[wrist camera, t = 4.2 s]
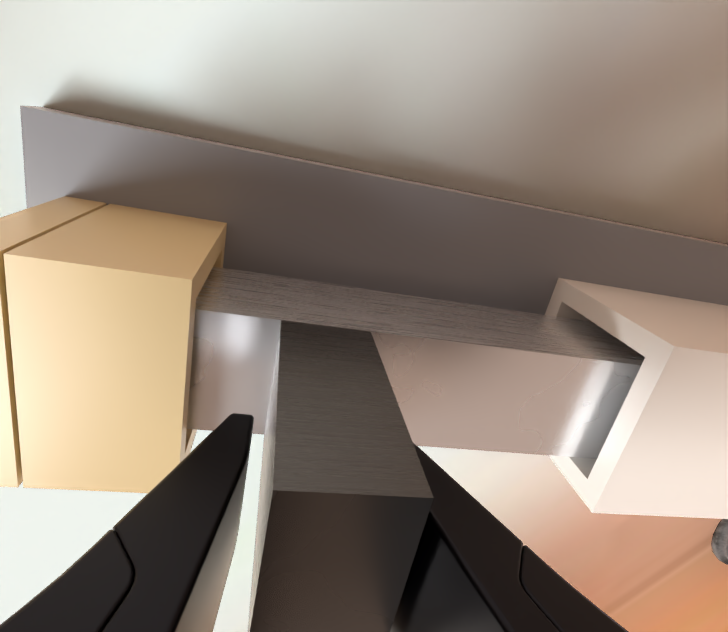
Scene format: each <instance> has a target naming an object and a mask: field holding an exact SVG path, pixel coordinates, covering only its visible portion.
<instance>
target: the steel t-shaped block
mask: <svg viewBox="0 0 728 632" xmlns="http://www.w3.org/2000/svg"><path fill="white" fill-rule="evenodd" d="M644 359H645V357H644V356H643V355H641V354H640V353H638V352H637V351H635V350H634V349H632V348H631V347H629V346H628V345H626V344H625V343H623V342H622V341H620V340H619V339H617V338H616V337H614V336H613V335H611V334H610V333H608V332H607V331H605V330H604V329H602V328H601V327H599V326H598V325H596V324H595V323H593V322H591V321H584V320H577V319H570V318H563V317H556V316H549V315H542V314H536V313H529V312H522V311H515V310H508V309H501V308H494V307H487V306H480V305H474V304H467V303H460V302H453V301H446V300H439V299H432V298H425V297H418V296H412V295H405V294H398V293H391V292H384V291H377V290H370V289H363V288H357V287H350V286H343V285H336V284H329V283H322V282H315V281H308V280H301V279H295V278H288V277H281V276H274V275H267V274H260V273H253V272H246V271H239V270H233V269H226V268H219V267H213V268H212V270H211V271H210V273H209V275H208V277H207V279H206V281H205V283H204V285H203V287H202V289H201V290H200V292H199V294H198V296H197V298H196V307H195V321H194V335H193V348H192V362H191V376H190V389H189V403H188V417H187V429H198V430H212V431H214V430H215V429H216V428H217V427H218V426H219V425H220V424H221V423H222V422H223V421H224V420H225V419H226V418H227V417H228V416H229V415H230V414H232V413H238V414H249V415H252V416H253V417H254V422H253V430H252V433H253V434H264V443H263V455H262V467H261V479H260V491H259V503H258V515H257V527H256V539H255V551H254V563H253V575H252V587H251V599H250V611H249V623H248V632H390V630H391V627H392V624H393V621H394V618H395V615H396V612H397V609H398V606H399V603H400V599H401V596H402V593H403V590H404V587H405V584H406V581H407V578H408V575H409V572H410V569H411V566H412V563H413V560H414V557H415V554H416V551H417V548H418V544H419V541H420V538H421V535H422V532H423V529H424V526H425V523H426V520H427V517H428V514H429V511H430V508H431V505H432V502H433V499H434V497H433V495H432V492H431V490H430V487H429V484H428V482H427V479H426V476H425V474H424V471H423V468H422V466H421V463H420V460H419V458H418V455H417V452H416V450H415V447H414V445H413V443H414V444H415V445H416V446H430V447H444V448H457V449H471V450H484V451H498V452H512V453H525V454H539V455H553V456H566V457H580V458H594V459H597V458H598V456H599V454H600V452H601V449H602V447H603V445H604V443H605V441H606V439H607V437H608V435H609V433H610V430H611V428H612V426H613V424H614V422H615V420H616V418H617V416H618V414H619V411H620V409H621V407H622V405H623V403H624V401H625V399H626V397H627V395H628V392H629V390H630V388H631V386H632V384H633V382H634V380H635V378H636V376H637V373H638V371H639V369H640V367H641V365H642V363H643V361H644Z"/></svg>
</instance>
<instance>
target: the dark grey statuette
mask: <svg viewBox="0 0 728 632" xmlns="http://www.w3.org/2000/svg"><path fill="white" fill-rule="evenodd" d="M711 545H712V550H713V553H714V554H715V556H716V557H717V558H718V559H719V560H720V561H722V562H723V563H725V564H728V519H722V520H721V522H720V523H719V524H718V526H717V528H716V530H715V532H714V534H713V538H712V543H711Z"/></svg>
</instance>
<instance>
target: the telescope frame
mask: <svg viewBox="0 0 728 632" xmlns="http://www.w3.org/2000/svg"><path fill="white" fill-rule="evenodd" d="M20 108H21V124H22V139H23V155H24V170H25V186H26V202H27V209H25V210H22V211H19V212H16V213H13V214H10V215H7V216H4V217H1V218H0V487H19V485H20V484H21V483H22V481H23V488H45V489H67V490H90V491H112V492H135V493H149V492H150V491H151V490H152V489H153V488H154V487H155V486H156V485H157V484H158V483H159V482H161V481H162V480H163V479H164V478H165V477H166V476H167V475H168V474H169V473H170V472H171V471H172V470H173V469H174V468H175V467H176V466H177V465H178V464H179V463H180V462H181V461H182V460H183V459H184V458H186V457H187V456H188V455H189V454H190V451H191V448H192V444H193V441H194V438H195V435H196V431H197V429H187V417H188V403H189V389H190V376H191V362H192V348H193V335H194V321H195V307H196V298H197V296H198V294H199V292H200V290H201V289H202V287H203V285H204V283H205V281H206V279H207V277H208V275H209V273H210V271H211V270H212V268H213V267H219V268H226V269H233V270H239V271H246V272H253V273H260V274H267V275H274V276H281V277H288V278H295V279H301V280H308V281H315V282H322V283H329V284H336V285H343V286H350V287H357V288H363V289H370V290H377V291H384V292H391V293H398V294H405V295H412V296H418V297H425V298H432V299H439V300H446V301H453V302H460V303H467V304H474V305H480V306H487V307H494V308H501V309H508V310H515V311H522V312H529V313H536V314H542V315H549V316H556V317H563V318H570V319H577V320H584V321H591V322H593V323H595V324H596V325H598V326H599V327H601V328H602V329H604V330H605V331H607V332H608V333H610V334H611V335H613V336H614V337H616V338H617V339H619V340H620V341H622V342H623V343H625V344H626V345H628V346H629V347H631V348H632V349H634V350H635V351H637V352H638V353H640V354H641V355H643V356H644V357H645V359H644V361H643V363H642V365H641V367H640V369H639V371H638V373H637V376H636V378H635V380H634V382H633V384H632V386H631V388H630V390H629V392H628V395H627V397H626V399H625V401H624V403H623V405H622V407H621V409H620V411H619V414H618V416H617V418H616V420H615V422H614V424H613V426H612V428H611V430H610V433H609V435H608V437H607V439H606V441H605V443H604V445H603V447H602V449H601V452H600V454H599V456H598V458H597V459H594V458H580V457H566V456H553V455H548V456H549V457H550V459H551V460H552V461H553V462H554V464H555V465H556V466H557V468H558V469H559V470H560V472H561V473H562V474H563V475H564V477H565V478H566V479H567V481H568V482H569V483H570V485H571V486H572V487H573V489H574V490H575V491H576V492H577V494H578V495H579V496H580V498H581V499H582V500H583V502H584V503H585V504H586V505H587V507H588V508H589V509H590V511H591V512H592V513H605V514H627V515H650V516H672V517H694V518H717V519H728V244H724V243H719V242H714V241H709V240H704V239H699V238H694V237H689V236H684V235H679V234H674V233H669V232H664V231H659V230H654V229H649V228H644V227H639V226H634V225H629V224H624V223H619V222H614V221H609V220H604V219H599V218H594V217H589V216H584V215H579V214H574V213H569V212H564V211H559V210H554V209H549V208H544V207H539V206H534V205H529V204H524V203H519V202H514V201H509V200H504V199H499V198H494V197H489V196H484V195H479V194H474V193H469V192H464V191H459V190H454V189H449V188H444V187H439V186H434V185H429V184H424V183H419V182H414V181H409V180H404V179H399V178H394V177H389V176H384V175H379V174H374V173H369V172H364V171H359V170H354V169H349V168H344V167H339V166H334V165H329V164H324V163H319V162H314V161H309V160H304V159H299V158H294V157H289V156H284V155H279V154H274V153H269V152H264V151H259V150H254V149H249V148H244V147H239V146H234V145H229V144H224V143H219V142H214V141H209V140H204V139H199V138H194V137H189V136H184V135H179V134H174V133H169V132H164V131H159V130H154V129H149V128H144V127H139V126H134V125H129V124H124V123H119V122H114V121H109V120H104V119H99V118H95V117H90V116H85V115H80V114H75V113H70V112H65V111H60V110H55V109H50V108H45V107H36V106H20Z"/></svg>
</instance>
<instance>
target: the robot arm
mask: <svg viewBox="0 0 728 632" xmlns="http://www.w3.org/2000/svg"><path fill="white" fill-rule="evenodd" d="M253 422H254V417H253V416H252V415H249V414H238V413H232V414H230V415H229V416H228V417H227V418H226V419H225V420H224V421H223V422H222V423H221V424H220V425H219V426H218V427H217V428H216V429H215V430H214V431H213V432H212V433H210V434H209V435H208V436H207V437H206V438H205V439H204V440H203V441H202V442H201V443H200V444H199V445H198V446H197V447H196V448H195V449H194V450H193V451H192V452H191V453H190V454H189V455H188V456H187V457H186V458H184V459H183V460H182V461H181V462H180V463H179V464H178V465H177V466H176V467H175V468H174V469H173V470H172V471H171V472H170V473H169V474H168V475H167V476H166V477H165V478H164V479H163V480H162V481H161V482H159V483H158V484H157V485H156V486H155V487H154V488H153V489H152V490H151V491H150V492H149V493H148V494H147V495H146V496H145V497H144V498H143V499H142V500H141V501H140V502H139V503H138V504H137V505H136V506H134V507H133V508H132V509H131V510H130V511H129V512H128V513H127V514H126V515H125V516H124V517H123V518H122V519H121V520H120V521H119V522H118V523H117V524H116V525H115V526H114V527H113V530H109V531H108V532H107V533H106V534H105V535H104V536H103V537H102V538H101V539H100V540H99V541H98V542H97V543H96V544H95V545H94V546H93V547H91V548H90V549H89V550H88V551H87V552H86V553H85V554H84V555H83V556H82V557H81V558H79V559H78V560H77V561H76V562H75V563H74V564H73V565H72V566H71V567H70V568H68V569H67V570H66V571H65V572H64V573H63V574H62V575H61V576H60V577H58V578H57V579H56V580H55V581H53V582H52V583H51V584H50V585H49V586H47V587H46V588H45V589H44V590H43V591H41V592H40V593H39V594H38V595H37V596H35V597H34V598H33V599H32V600H30V601H29V602H28V603H27V604H26V605H24V606H23V607H22V608H21V609H20V610H18V611H17V612H16V613H15V614H13V615H12V616H11V617H9V618H8V619H7V620H6V621H4V622H3V623H2V624H1V625H0V632H213V628H214V625H215V621H216V617H217V613H218V610H219V606H220V602H221V598H222V595H223V591H224V587H225V584H226V580H227V576H228V572H229V569H230V565H231V561H232V557H233V554H234V549H235V545H236V541H237V536H238V530H239V523H240V516H241V509H242V502H243V494H244V487H245V480H246V473H247V466H248V458H249V451H250V444H251V437H252V430H253ZM413 445H414V447H415V450H416V452H417V455H418V458H419V460H420V463H421V466H422V468H423V471H424V474H425V476H426V479H427V482H428V484H429V487H430V490H431V492H432V495H433V497H434V499H433V502H432V505H431V508H430V511H429V514H428V517H427V520H426V523H425V526H424V529H423V532H422V535H421V538H420V541H419V544H418V548H417V551H416V554H415V557H414V560H413V563H412V566H411V569H410V572H409V575H408V578H407V581H406V584H405V587H404V590H403V593H402V596H401V599H400V603H399V606H398V609H397V612H396V615H395V618H394V621H393V624H392V627H391V630H390V632H628V631H627V630H626V629H624V628H623V627H622V626H620V625H619V624H618V623H617V622H615V621H614V620H613V619H612V618H610V617H609V616H608V615H607V614H605V613H604V612H603V611H602V610H600V609H599V608H598V607H597V606H596V605H594V604H593V603H592V602H591V601H589V600H588V599H587V598H586V597H585V596H583V595H582V594H581V593H580V592H579V591H577V590H576V589H575V588H574V587H572V586H571V585H570V584H569V583H568V582H567V581H565V580H564V579H563V578H562V577H561V576H560V575H559V574H558V573H556V572H555V571H554V570H553V569H552V568H551V567H550V566H548V565H547V564H546V563H545V562H544V561H543V560H542V559H541V558H539V557H538V556H537V555H536V554H535V553H534V552H533V551H532V550H531V549H530V548H528V547H527V546H523V543H522V541H521V540H520V539H518V538H517V537H516V536H515V535H514V534H513V533H512V532H511V531H510V530H509V529H507V528H506V527H505V526H504V525H503V524H502V523H501V522H500V521H499V520H498V519H496V518H495V517H494V516H493V515H492V514H491V513H490V512H489V511H488V510H487V509H486V508H484V507H483V506H482V505H481V504H480V503H479V502H478V501H477V500H476V499H475V498H473V497H472V496H471V495H470V494H469V493H468V492H467V491H466V490H465V489H464V488H463V487H461V486H460V485H459V484H458V483H457V482H456V481H455V480H454V479H453V478H452V477H450V476H449V475H448V474H447V473H446V472H445V471H444V470H443V469H442V468H441V467H439V466H438V465H437V464H436V463H435V462H434V461H433V460H432V459H431V458H430V457H429V456H427V455H426V454H425V453H424V452H423V451H422V450H421V449H420V448H419V447H418V446H416V445H415V444H414V443H413Z"/></svg>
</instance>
